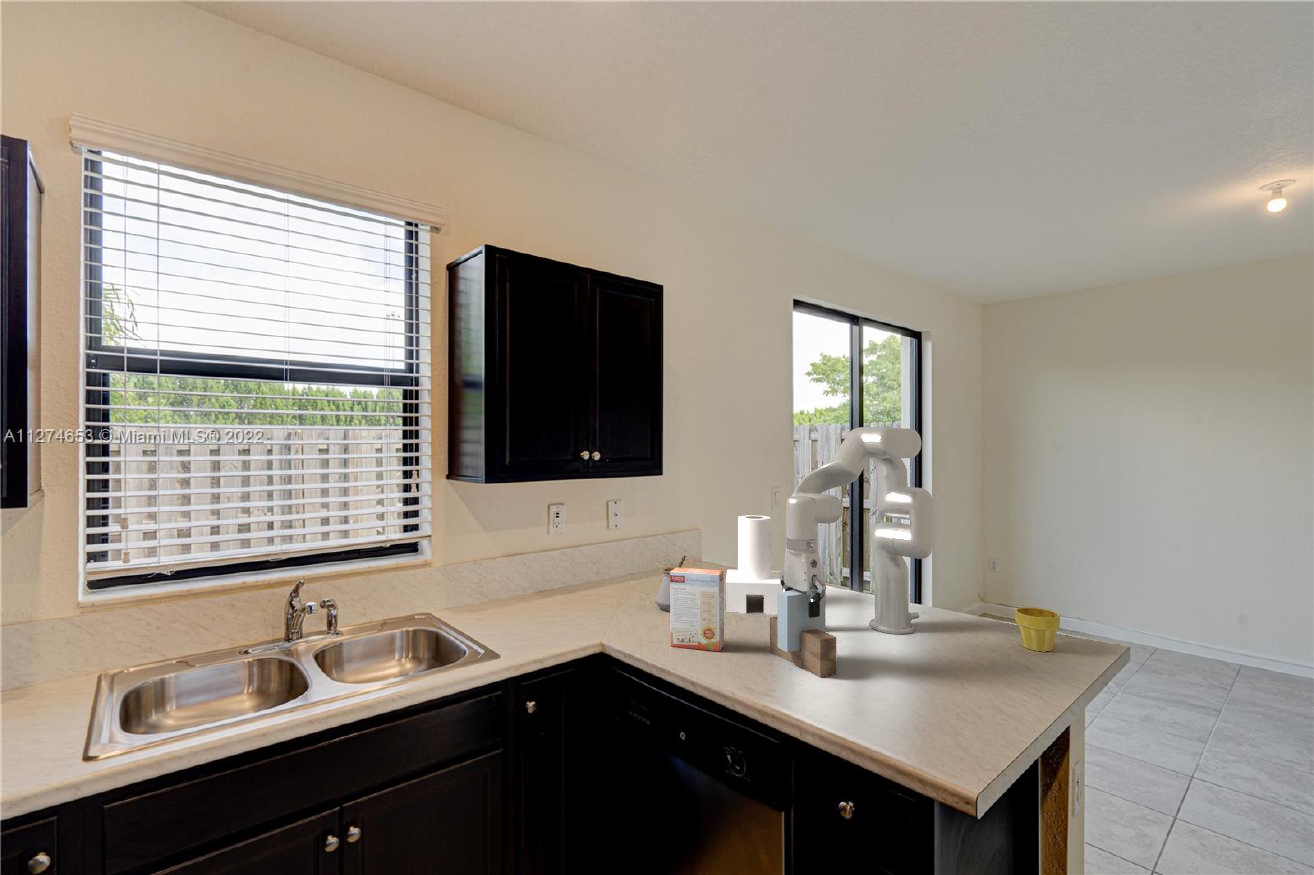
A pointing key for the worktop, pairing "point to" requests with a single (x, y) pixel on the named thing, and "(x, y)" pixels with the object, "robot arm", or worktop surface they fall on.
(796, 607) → the pale blue tall box
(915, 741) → the worktop surface
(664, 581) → the coffee pot
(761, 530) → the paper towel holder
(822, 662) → the walnut crosspiece
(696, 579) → the cracker box
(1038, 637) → the plant pot
